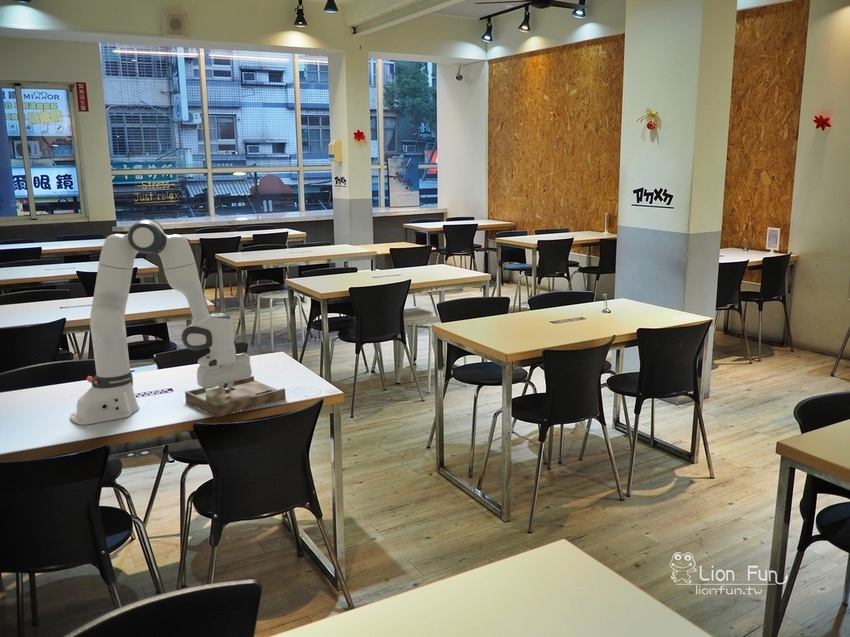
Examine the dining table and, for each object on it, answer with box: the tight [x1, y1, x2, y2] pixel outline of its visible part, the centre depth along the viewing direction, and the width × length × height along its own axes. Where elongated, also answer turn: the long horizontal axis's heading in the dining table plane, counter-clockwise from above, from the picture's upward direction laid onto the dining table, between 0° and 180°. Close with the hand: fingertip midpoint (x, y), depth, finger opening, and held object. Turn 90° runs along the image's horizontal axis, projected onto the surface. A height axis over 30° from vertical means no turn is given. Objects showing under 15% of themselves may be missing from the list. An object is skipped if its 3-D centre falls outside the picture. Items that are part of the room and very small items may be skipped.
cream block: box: [205, 386, 225, 403], centre depth 263 cm, size 5×5×4 cm
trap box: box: [184, 375, 286, 418], centre depth 269 cm, size 28×24×4 cm
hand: (226, 393), depth 267 cm, fingers closed
